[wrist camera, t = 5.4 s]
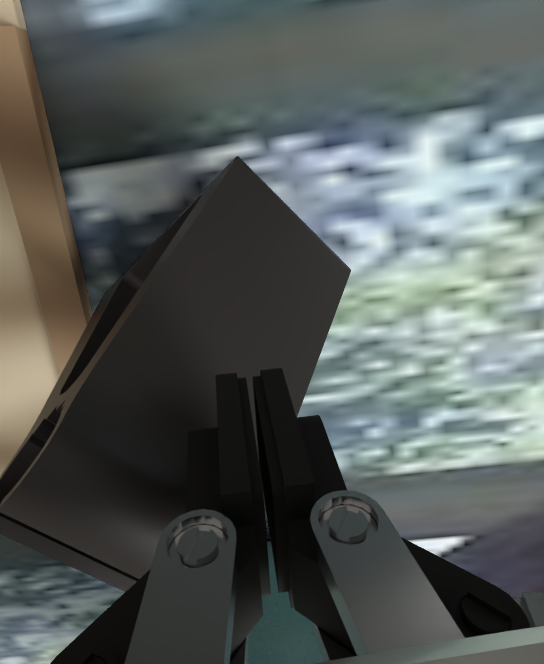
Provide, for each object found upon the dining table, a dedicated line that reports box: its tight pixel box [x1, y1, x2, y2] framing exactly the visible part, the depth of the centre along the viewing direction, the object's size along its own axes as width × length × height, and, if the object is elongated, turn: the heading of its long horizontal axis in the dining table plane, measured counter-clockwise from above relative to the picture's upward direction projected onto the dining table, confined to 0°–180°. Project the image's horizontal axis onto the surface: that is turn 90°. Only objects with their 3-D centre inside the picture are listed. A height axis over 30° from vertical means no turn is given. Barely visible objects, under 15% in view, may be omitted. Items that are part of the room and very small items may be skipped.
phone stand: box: [0, 156, 351, 592], centre depth 15 cm, size 9×6×12 cm, turn 136°
